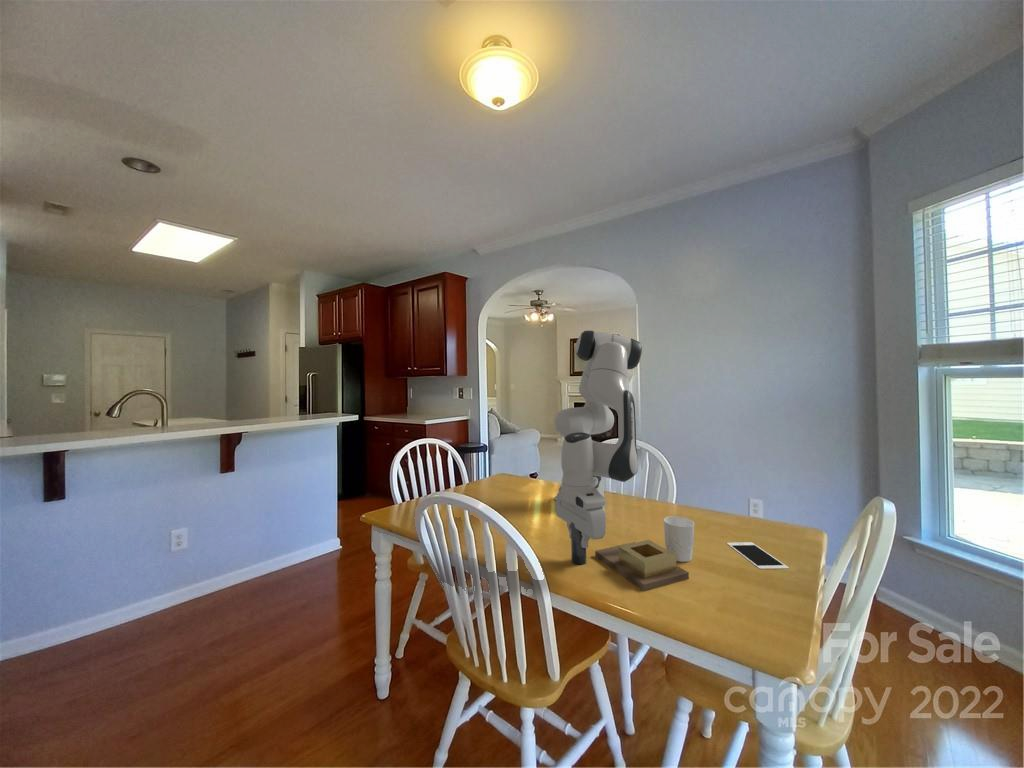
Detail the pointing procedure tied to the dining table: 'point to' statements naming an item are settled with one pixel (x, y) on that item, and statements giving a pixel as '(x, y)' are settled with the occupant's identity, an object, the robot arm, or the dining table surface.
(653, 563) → the square brass washer
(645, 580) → the walnut board
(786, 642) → the dining table surface
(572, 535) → the steel pin
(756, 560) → the cell phone
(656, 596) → the dining table surface
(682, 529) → the white cup
